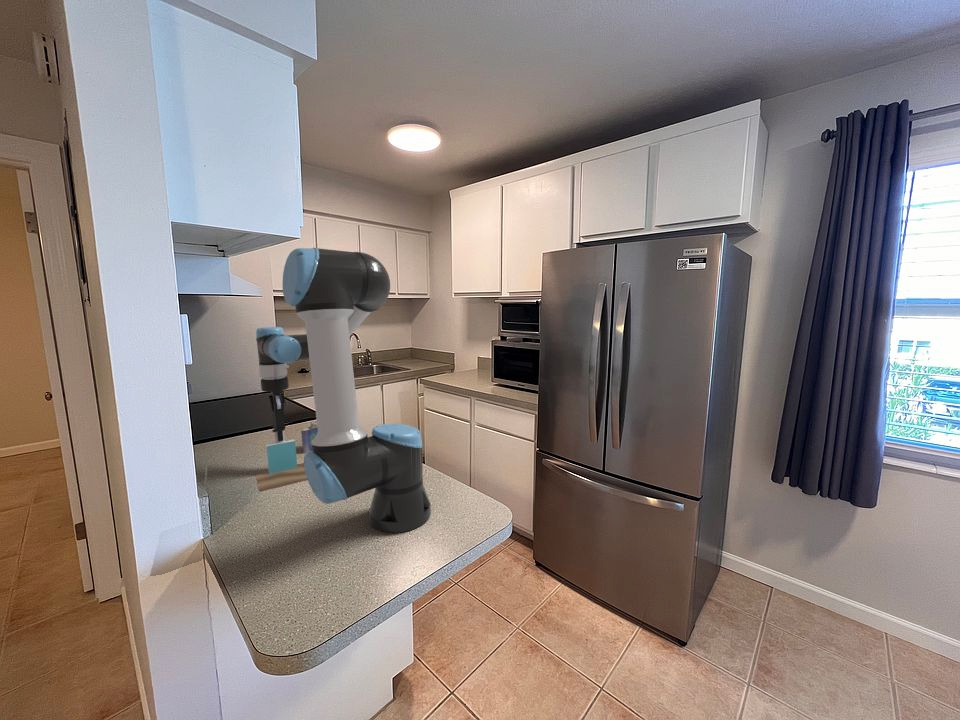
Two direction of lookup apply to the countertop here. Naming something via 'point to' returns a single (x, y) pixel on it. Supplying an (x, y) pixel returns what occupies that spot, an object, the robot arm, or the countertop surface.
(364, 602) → the countertop surface
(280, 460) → the tile
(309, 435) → the flask
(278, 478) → the board
